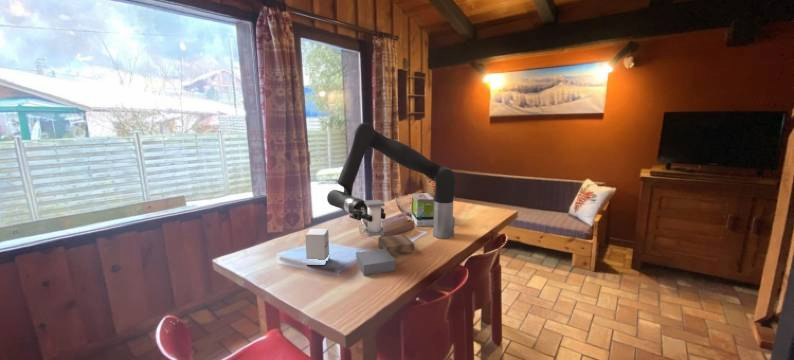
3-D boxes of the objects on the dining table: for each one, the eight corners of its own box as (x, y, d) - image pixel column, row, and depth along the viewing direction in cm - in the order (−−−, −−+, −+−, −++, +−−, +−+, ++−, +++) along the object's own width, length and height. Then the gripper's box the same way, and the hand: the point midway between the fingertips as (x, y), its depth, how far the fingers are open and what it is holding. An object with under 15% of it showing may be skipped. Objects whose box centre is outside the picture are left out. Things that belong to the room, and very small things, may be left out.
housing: (379, 229, 125) (379, 199, 123) (384, 234, 120) (384, 203, 117) (364, 231, 123) (364, 200, 121) (368, 236, 118) (368, 204, 115)
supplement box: (325, 266, 123) (324, 234, 121) (306, 266, 123) (304, 234, 121) (329, 258, 130) (328, 228, 128) (311, 258, 131) (310, 228, 128)
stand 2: (403, 242, 147) (403, 234, 147) (413, 252, 136) (413, 243, 136) (378, 245, 143) (378, 237, 143) (386, 256, 132) (386, 247, 132)
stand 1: (385, 257, 131) (385, 248, 130) (395, 270, 120) (395, 260, 119) (356, 262, 127) (356, 252, 126) (363, 275, 116) (363, 265, 115)
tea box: (435, 225, 171) (435, 198, 168) (416, 226, 170) (416, 199, 167) (428, 217, 186) (429, 192, 183) (411, 218, 184) (411, 192, 182)
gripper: (339, 200, 127) (360, 210, 113) (371, 196, 135) (394, 205, 121) (340, 219, 128) (361, 231, 115) (371, 213, 136) (394, 224, 123)
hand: (378, 217), depth 118 cm, fingers closed on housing, 5 cm apart
